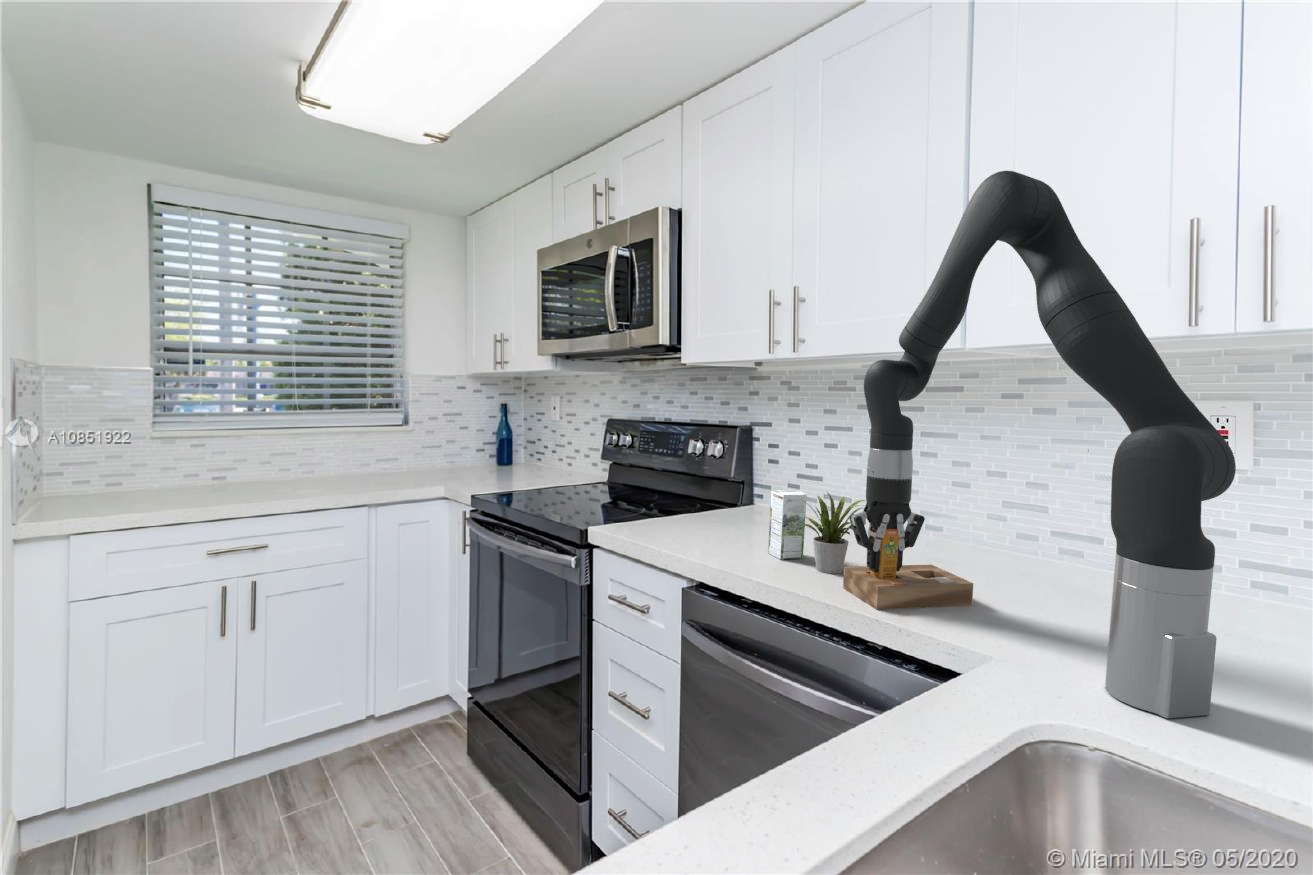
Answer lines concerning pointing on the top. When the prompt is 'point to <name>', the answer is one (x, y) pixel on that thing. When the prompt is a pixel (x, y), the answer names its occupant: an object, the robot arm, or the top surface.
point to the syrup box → (787, 524)
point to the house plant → (831, 536)
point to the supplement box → (887, 555)
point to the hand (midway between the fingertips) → (884, 570)
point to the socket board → (909, 588)
